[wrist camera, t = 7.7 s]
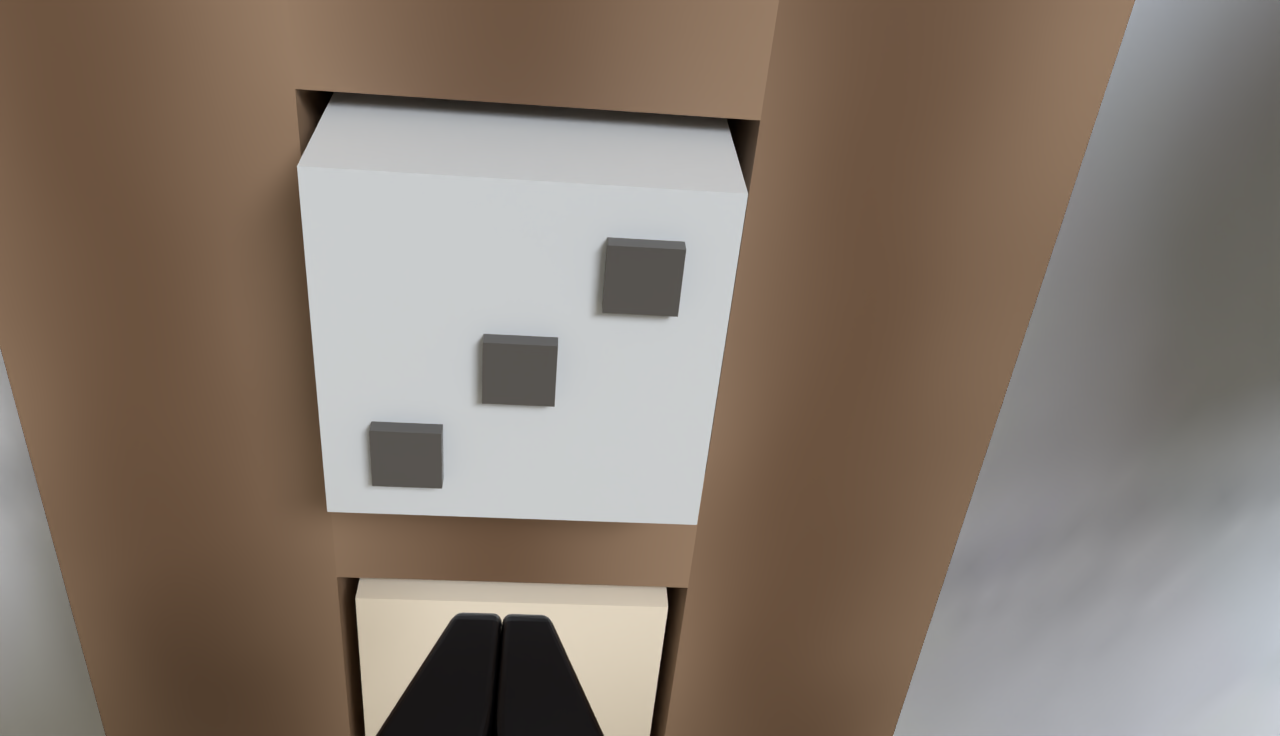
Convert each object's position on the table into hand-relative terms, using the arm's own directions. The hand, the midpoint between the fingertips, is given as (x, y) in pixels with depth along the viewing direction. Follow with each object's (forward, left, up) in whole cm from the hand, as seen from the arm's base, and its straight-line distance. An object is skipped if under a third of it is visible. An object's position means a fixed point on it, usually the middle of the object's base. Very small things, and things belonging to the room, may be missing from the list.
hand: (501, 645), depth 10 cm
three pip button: (0, 0, -8) cm, 8 cm away
